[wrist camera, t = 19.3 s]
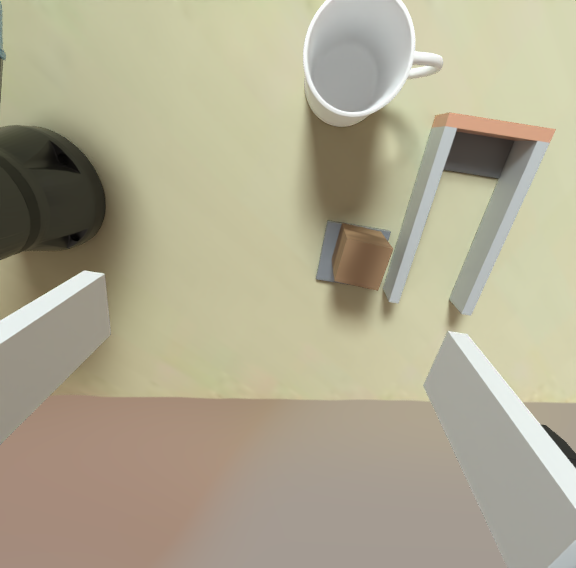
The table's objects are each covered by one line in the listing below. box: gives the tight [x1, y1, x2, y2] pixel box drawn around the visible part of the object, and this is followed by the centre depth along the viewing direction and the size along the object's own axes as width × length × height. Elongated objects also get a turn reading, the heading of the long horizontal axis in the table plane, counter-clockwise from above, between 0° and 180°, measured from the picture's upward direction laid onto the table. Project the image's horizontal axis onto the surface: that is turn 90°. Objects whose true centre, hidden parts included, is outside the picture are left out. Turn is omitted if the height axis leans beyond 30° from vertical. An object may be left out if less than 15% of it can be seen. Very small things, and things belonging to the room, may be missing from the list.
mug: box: [303, 0, 443, 127], centre depth 28 cm, size 12×8×12 cm
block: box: [332, 223, 393, 291], centre depth 37 cm, size 5×5×7 cm
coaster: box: [316, 220, 391, 285], centre depth 41 cm, size 8×8×1 cm
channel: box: [383, 113, 556, 315], centre depth 37 cm, size 10×21×4 cm, turn 172°
